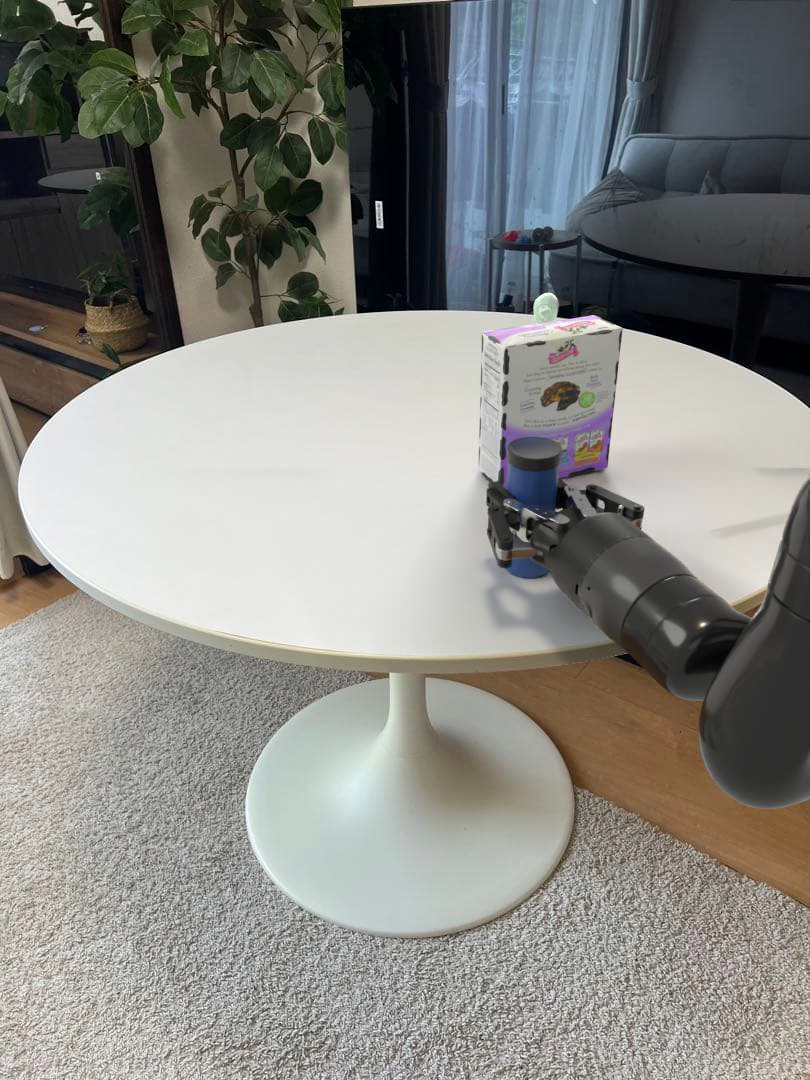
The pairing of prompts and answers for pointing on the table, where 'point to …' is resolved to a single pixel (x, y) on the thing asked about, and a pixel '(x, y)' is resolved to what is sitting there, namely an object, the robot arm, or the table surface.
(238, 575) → the table surface
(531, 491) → the blue cylindrical container
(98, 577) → the table surface
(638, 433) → the table surface
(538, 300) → the robot head
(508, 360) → the candy box
